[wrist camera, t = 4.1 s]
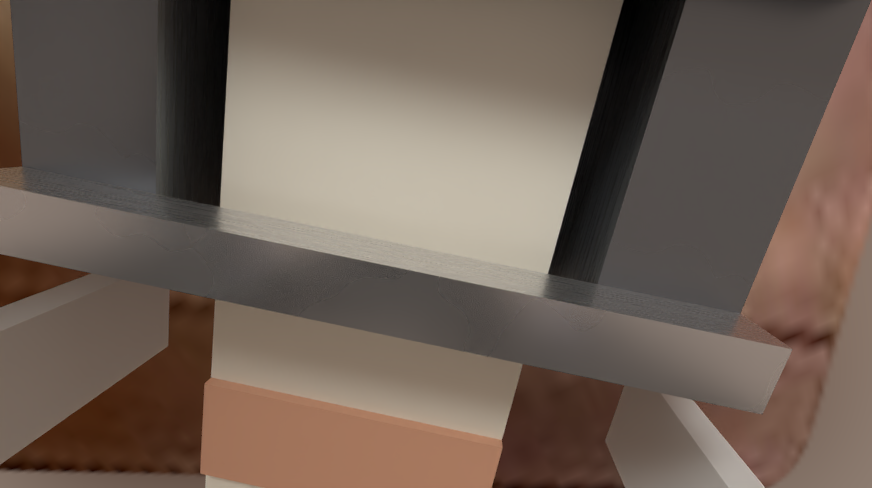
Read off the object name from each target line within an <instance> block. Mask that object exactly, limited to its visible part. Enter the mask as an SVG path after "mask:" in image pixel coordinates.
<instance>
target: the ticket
mask: <svg viewBox="0 0 872 488" xmlns="http://www.w3.org/2000/svg"><path fill="white" fill-rule="evenodd" d="M622 4H623V0H231V7H230V26H229V45H228V64H227V83H226V102H225V121H224V140H223V159H222V178H221V197H220V207H222V208H227V209H232V210H237V211H242V212H247V213H252V214H257V215H262V216H266V217H271V218H276V219H281V220H286V221H291V222H296V223H301V224H306V225H310V226H315V227H320V228H325V229H330V230H335V231H340V232H345V233H349V234H354V235H359V236H364V237H369V238H374V239H379V240H384V241H389V242H393V243H398V244H403V245H408V246H413V247H418V248H423V249H428V250H432V251H437V252H442V253H447V254H452V255H457V256H462V257H467V258H472V259H476V260H481V261H486V262H491V263H496V264H501V265H506V266H511V267H516V268H520V269H525V270H530V271H535V272H540V273H545V274H548V271H549V268H550V264H551V261H552V257H553V253H554V250H555V246H556V242H557V239H558V235H559V232H560V228H561V224H562V221H563V217H564V214H565V210H566V206H567V203H568V199H569V195H570V192H571V188H572V185H573V181H574V177H575V174H576V170H577V167H578V163H579V159H580V156H581V152H582V148H583V145H584V141H585V138H586V134H587V130H588V127H589V123H590V120H591V116H592V112H593V109H594V105H595V101H596V98H597V94H598V91H599V87H600V83H601V80H602V76H603V73H604V69H605V65H606V62H607V58H608V54H609V51H610V47H611V44H612V40H613V36H614V33H615V29H616V26H617V22H618V18H619V15H620V11H621V7H622ZM522 365H523V364H520V363H516V362H511V361H506V360H501V359H497V358H492V357H487V356H482V355H478V354H473V353H468V352H463V351H459V350H454V349H449V348H444V347H440V346H435V345H430V344H425V343H421V342H416V341H411V340H406V339H402V338H397V337H392V336H387V335H383V334H378V333H373V332H368V331H364V330H359V329H354V328H349V327H345V326H340V325H335V324H330V323H326V322H321V321H316V320H311V319H307V318H302V317H297V316H292V315H288V314H283V313H278V312H273V311H269V310H264V309H259V308H254V307H250V306H245V305H240V304H235V303H231V302H226V301H221V300H216V299H215V311H214V330H213V349H212V368H211V378H210V379H209V380H208V381H207V382H206V383H205V384H204V404H203V425H202V445H201V466H200V474H204V475H206V482H205V483H206V484H205V488H492V484H493V481H494V477H495V474H496V470H497V466H498V463H499V459H500V456H501V452H502V449H503V446H502V438H503V434H504V430H505V427H506V423H507V420H508V416H509V412H510V409H511V405H512V401H513V398H514V394H515V391H516V387H517V383H518V380H519V376H520V373H521V369H522Z"/></svg>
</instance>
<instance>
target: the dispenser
mask: <svg viewBox="0 0 872 488" xmlns="http://www.w3.org/2000/svg"><path fill="white" fill-rule="evenodd" d="M870 2H871V0H623V4H622V7H621V11H620V15H619V18H618V22H617V26H616V29H615V33H614V36H613V40H612V44H611V47H610V51H609V54H608V58H607V62H606V65H605V69H604V73H603V76H602V80H601V83H600V87H599V91H598V94H597V98H596V101H595V105H594V109H593V112H592V116H591V120H590V123H589V127H588V130H587V134H586V138H585V141H584V145H583V148H582V152H581V156H580V159H579V163H578V167H577V170H576V174H575V177H574V181H573V185H572V188H571V192H570V195H569V199H568V203H567V206H566V210H565V214H564V217H563V221H562V224H561V228H560V232H559V235H558V239H557V242H556V246H555V250H554V253H553V257H552V261H551V264H550V268H549V271H548V274H545V273H540V272H535V271H530V270H525V269H520V268H516V267H511V266H506V265H501V264H496V263H491V262H486V261H481V260H476V259H472V258H467V257H462V256H457V255H452V254H447V253H442V252H437V251H432V250H428V249H423V248H418V247H413V246H408V245H403V244H398V243H393V242H389V241H384V240H379V239H374V238H369V237H364V236H359V235H354V234H349V233H345V232H340V231H335V230H330V229H325V228H320V227H315V226H310V225H306V224H301V223H296V222H291V221H286V220H281V219H276V218H271V217H266V216H262V215H257V214H252V213H247V212H242V211H237V210H232V209H227V208H222V207H220V197H221V178H222V159H223V140H224V121H225V102H226V83H227V64H228V45H229V26H230V7H231V0H10V5H11V18H12V32H13V46H14V59H15V73H16V87H17V100H18V114H19V128H20V141H21V155H22V167H11V168H0V254H2V255H7V256H12V257H17V258H21V259H26V260H31V261H36V262H40V263H45V264H50V265H55V266H59V267H64V268H69V269H74V270H78V271H83V272H88V273H93V274H97V275H102V276H107V277H112V278H116V279H121V280H126V281H131V282H136V283H140V284H145V285H150V286H155V287H159V288H164V289H169V290H174V291H178V292H183V293H188V294H193V295H197V296H202V297H207V298H212V299H216V300H221V301H226V302H231V303H235V304H240V305H245V306H250V307H254V308H259V309H264V310H269V311H273V312H278V313H283V314H288V315H292V316H297V317H302V318H307V319H311V320H316V321H321V322H326V323H330V324H335V325H340V326H345V327H349V328H354V329H359V330H364V331H368V332H373V333H378V334H383V335H387V336H392V337H397V338H402V339H406V340H411V341H416V342H421V343H425V344H430V345H435V346H440V347H444V348H449V349H454V350H459V351H463V352H468V353H473V354H478V355H482V356H487V357H492V358H497V359H501V360H506V361H511V362H516V363H520V364H525V365H530V366H535V367H539V368H544V369H549V370H554V371H559V372H563V373H568V374H573V375H578V376H582V377H587V378H592V379H597V380H601V381H606V382H611V383H616V384H620V385H625V386H630V387H635V388H639V389H644V390H649V391H654V392H658V393H663V394H668V395H673V396H677V397H682V398H687V399H692V400H696V401H701V402H706V403H711V404H715V405H720V406H725V407H730V408H734V409H739V410H744V411H749V412H753V413H758V414H763V412H764V409H765V407H766V405H767V403H768V401H769V399H770V397H771V394H772V392H773V390H774V388H775V386H776V384H777V381H778V379H779V377H780V375H781V373H782V371H783V369H784V366H785V364H786V362H787V360H788V358H789V356H790V354H791V351H792V349H791V348H790V347H788V346H787V345H786V344H784V343H783V342H781V341H780V340H778V339H777V338H775V337H774V336H772V335H771V334H769V333H768V332H767V331H765V330H764V329H762V328H761V327H759V326H758V325H756V324H755V323H753V322H752V321H750V320H749V319H748V318H746V317H745V316H743V315H742V314H740V313H741V311H742V308H743V306H744V303H745V301H746V299H747V296H748V294H749V291H750V289H751V287H752V284H753V282H754V280H755V277H756V275H757V272H758V270H759V268H760V265H761V263H762V260H763V258H764V256H765V253H766V251H767V248H768V246H769V244H770V241H771V239H772V236H773V234H774V232H775V229H776V227H777V224H778V222H779V220H780V217H781V215H782V213H783V210H784V208H785V205H786V203H787V201H788V198H789V196H790V193H791V191H792V189H793V186H794V184H795V181H796V179H797V177H798V174H799V172H800V169H801V167H802V165H803V162H804V160H805V157H806V155H807V153H808V150H809V148H810V146H811V143H812V141H813V138H814V136H815V134H816V131H817V129H818V126H819V124H820V122H821V119H822V117H823V114H824V112H825V110H826V107H827V105H828V102H829V100H830V98H831V95H832V93H833V90H834V88H835V86H836V83H837V81H838V78H839V76H840V74H841V71H842V69H843V67H844V64H845V62H846V59H847V57H848V55H849V52H850V50H851V47H852V45H853V43H854V40H855V38H856V35H857V33H858V31H859V28H860V26H861V23H862V21H863V19H864V16H865V14H866V11H867V9H868V7H869V4H870Z"/></svg>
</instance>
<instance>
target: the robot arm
mask: <svg viewBox="0 0 872 488" xmlns="http://www.w3.org/2000/svg"><path fill="white" fill-rule="evenodd" d="M169 293H170V290H169V289H164V288H159V287H155V286H150V285H145V284H140V283H136V282H131V281H126V280H121V279H116V278H112V277H107V276H102V275H97V274H93V273H91V274H89V275H86V276H83V277H81V278H78V279H75V280H73V281H70V282H67V283H64V284H62V285H59V286H56V287H54V288H51V289H48V290H46V291H43V292H40V293H38V294H35V295H32V296H30V297H27V298H24V299H22V300H19V301H16V302H13V303H11V304H8V305H5V306H3V307H0V464H2V463H3V462H5V461H6V460H7V459H9V458H10V457H12V456H13V455H15V454H16V453H17V452H19V451H20V450H22V449H23V448H24V447H26V446H27V445H29V444H30V443H32V442H33V441H34V440H36V439H37V438H39V437H40V436H41V435H43V434H44V433H46V432H47V431H49V430H50V429H51V428H53V427H54V426H56V425H57V424H58V423H60V422H61V421H63V420H64V419H66V418H67V417H68V416H70V415H71V414H73V413H74V412H75V411H77V410H78V409H80V408H81V407H83V406H84V405H85V404H87V403H88V402H90V401H91V400H92V399H94V398H95V397H97V396H98V395H100V394H101V393H102V392H104V391H105V390H107V389H108V388H109V387H111V386H112V385H114V384H115V383H117V382H118V381H119V380H121V379H122V378H124V377H125V376H126V375H128V374H129V373H131V372H132V371H134V370H135V369H136V368H138V367H139V366H141V365H142V364H144V363H145V362H146V361H148V360H149V359H151V358H152V357H153V356H155V355H156V354H158V353H159V352H161V351H162V350H163V349H165V348H166V347H168V333H169ZM605 442H606V445H607V447H608V449H609V452H610V454H611V456H612V459H613V461H614V463H615V465H616V468H617V470H618V472H619V475H620V477H621V479H622V482H623V484H624V486H625V488H765V487H764V486H763V485H762V483H761V482H760V481H759V480H758V479H757V477H756V476H755V475H754V474H753V472H752V471H751V470H750V469H749V468H748V466H747V465H746V464H745V463H744V462H743V460H742V459H741V458H740V457H739V455H738V454H737V453H736V452H735V451H734V449H733V448H732V447H731V446H730V445H729V443H728V442H727V441H726V440H725V438H724V437H723V436H722V435H721V434H720V432H719V431H718V430H717V429H716V428H715V426H714V425H713V424H712V423H711V421H710V420H709V419H708V418H707V417H706V415H705V414H704V413H703V412H702V410H701V409H700V408H699V407H698V406H697V404H696V403H695V402H694V401H693V400H692V399H687V398H682V397H677V396H673V395H668V394H663V393H658V392H654V391H649V390H644V389H639V388H635V387H630V386H625V385H624V388H623V391H622V394H621V397H620V399H619V402H618V405H617V408H616V411H615V414H614V417H613V419H612V422H611V425H610V428H609V431H608V434H607V436H606V439H605Z"/></svg>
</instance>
